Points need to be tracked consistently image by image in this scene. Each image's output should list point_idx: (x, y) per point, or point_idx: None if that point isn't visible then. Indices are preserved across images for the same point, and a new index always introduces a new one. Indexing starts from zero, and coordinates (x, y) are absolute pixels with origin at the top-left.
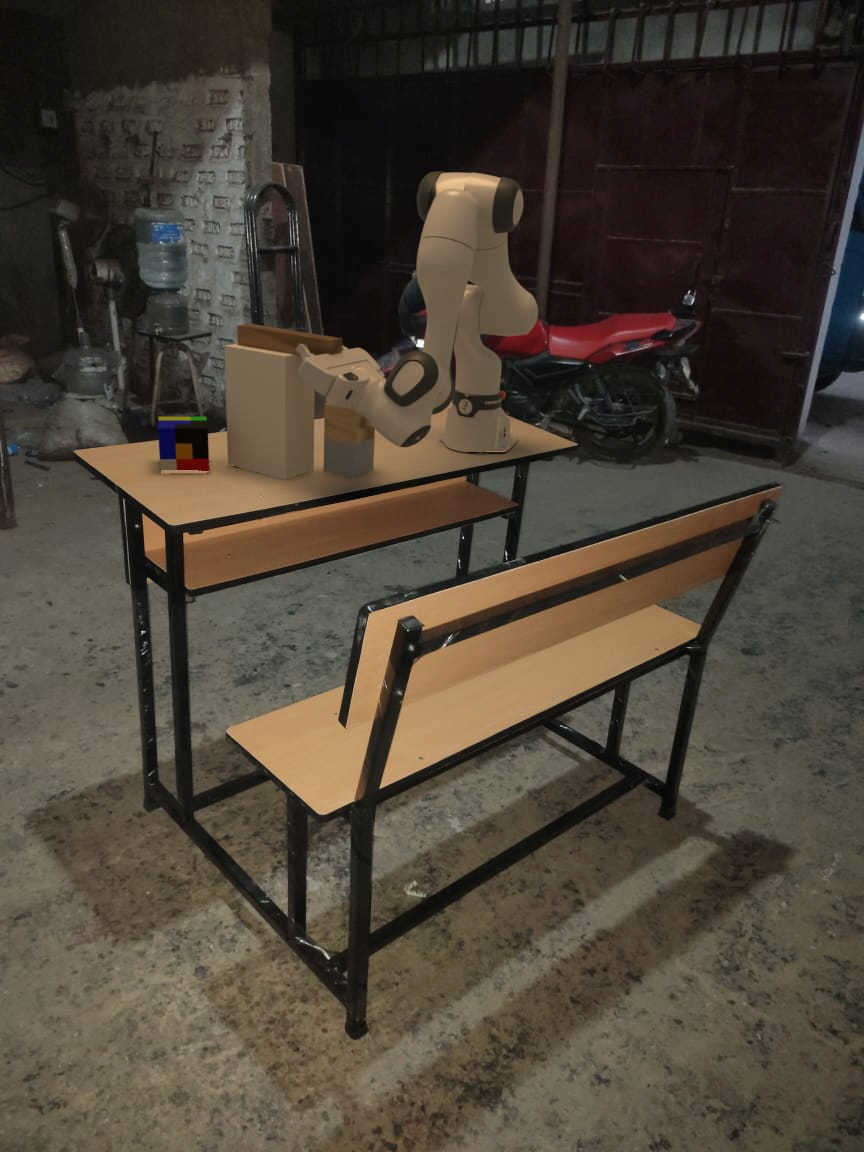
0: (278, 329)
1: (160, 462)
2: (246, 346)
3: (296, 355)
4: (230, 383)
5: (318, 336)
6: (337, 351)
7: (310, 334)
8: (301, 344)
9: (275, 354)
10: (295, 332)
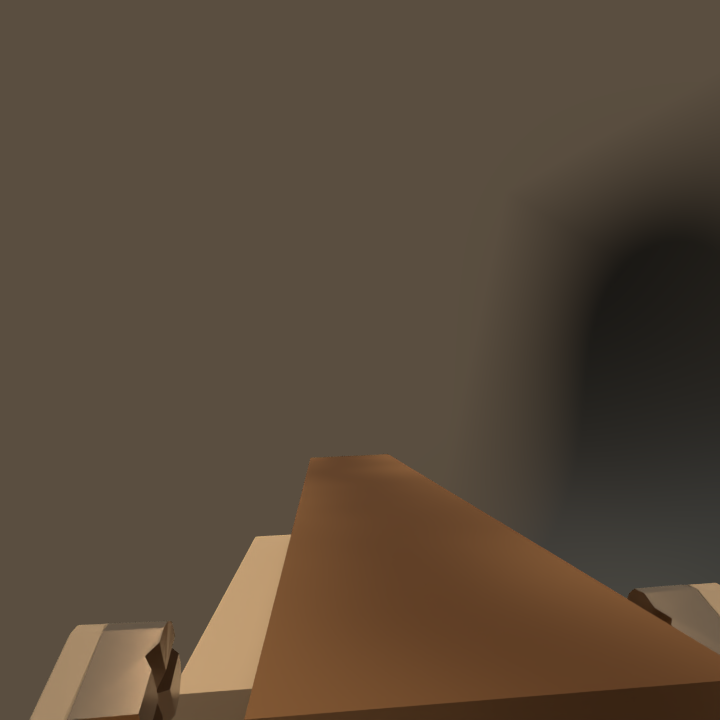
0: (383, 473)
1: None
2: None
3: None
4: None
5: (417, 549)
6: None
7: (431, 516)
8: (85, 637)
9: (199, 646)
10: (392, 493)
